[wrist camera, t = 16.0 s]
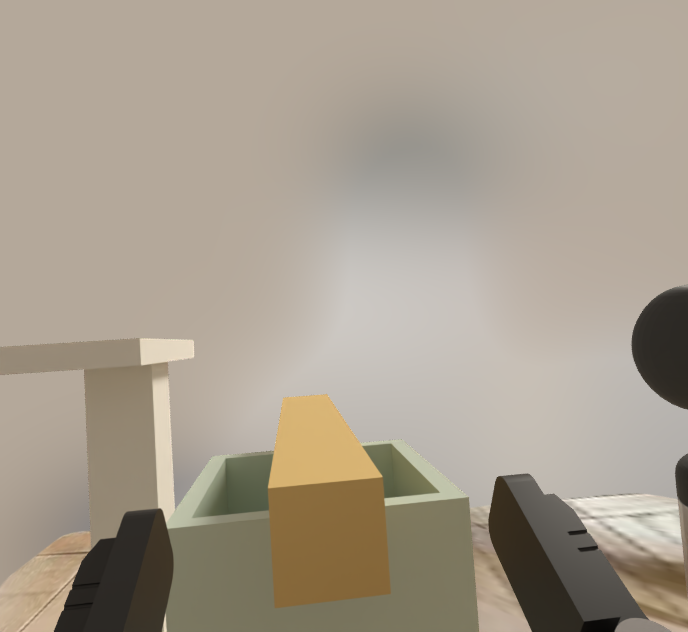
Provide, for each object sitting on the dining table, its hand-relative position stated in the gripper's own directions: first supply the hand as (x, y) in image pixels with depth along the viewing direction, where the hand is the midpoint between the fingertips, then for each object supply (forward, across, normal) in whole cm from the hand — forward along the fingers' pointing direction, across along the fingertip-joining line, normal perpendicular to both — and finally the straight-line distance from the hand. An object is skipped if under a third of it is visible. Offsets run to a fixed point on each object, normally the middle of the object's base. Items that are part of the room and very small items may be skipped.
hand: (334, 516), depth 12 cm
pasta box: (+14, 0, +14) cm, 20 cm away
